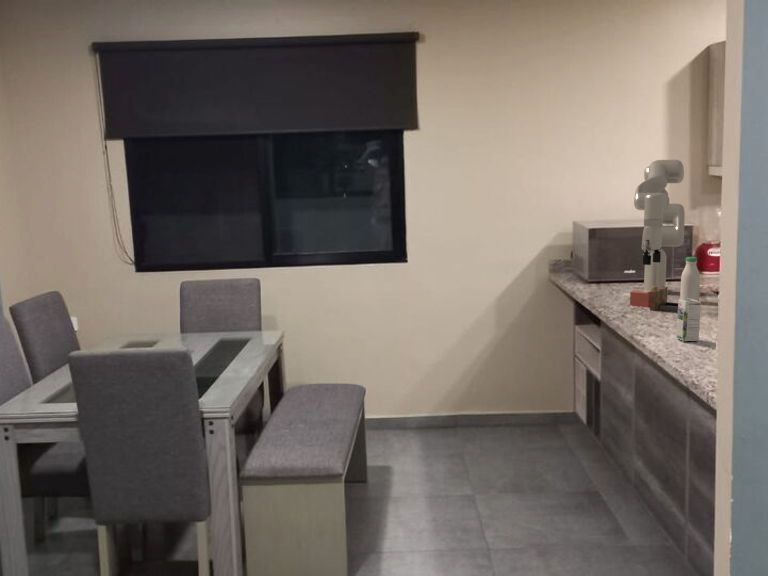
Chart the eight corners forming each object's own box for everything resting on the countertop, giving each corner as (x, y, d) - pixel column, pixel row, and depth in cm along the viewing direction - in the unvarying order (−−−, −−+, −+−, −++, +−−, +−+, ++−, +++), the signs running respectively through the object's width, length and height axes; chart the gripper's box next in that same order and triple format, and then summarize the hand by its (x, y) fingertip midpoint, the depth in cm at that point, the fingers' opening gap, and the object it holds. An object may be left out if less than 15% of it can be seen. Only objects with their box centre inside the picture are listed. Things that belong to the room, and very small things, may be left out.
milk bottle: (700, 304, 328) (702, 258, 324) (681, 303, 329) (683, 258, 326) (696, 300, 335) (699, 256, 332) (678, 300, 337) (680, 256, 333)
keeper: (665, 306, 324) (665, 301, 324) (694, 309, 317) (694, 304, 317) (658, 309, 318) (658, 305, 317) (687, 313, 310) (687, 308, 310)
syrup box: (675, 339, 267) (677, 298, 265) (691, 338, 268) (693, 298, 265) (683, 342, 262) (685, 301, 259) (699, 342, 262) (701, 301, 260)
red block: (633, 304, 332) (634, 289, 331) (651, 305, 327) (652, 290, 326) (629, 305, 328) (630, 290, 327) (648, 307, 324) (648, 292, 322)
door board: (661, 304, 328) (662, 282, 327) (667, 305, 327) (668, 282, 325) (649, 310, 317) (650, 286, 315) (655, 311, 315) (656, 287, 314)
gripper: (653, 221, 328) (651, 260, 330) (635, 224, 315) (634, 265, 318) (670, 222, 323) (668, 262, 325) (653, 225, 310) (651, 266, 313)
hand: (651, 263), depth 322 cm, fingers open, 9 cm apart
